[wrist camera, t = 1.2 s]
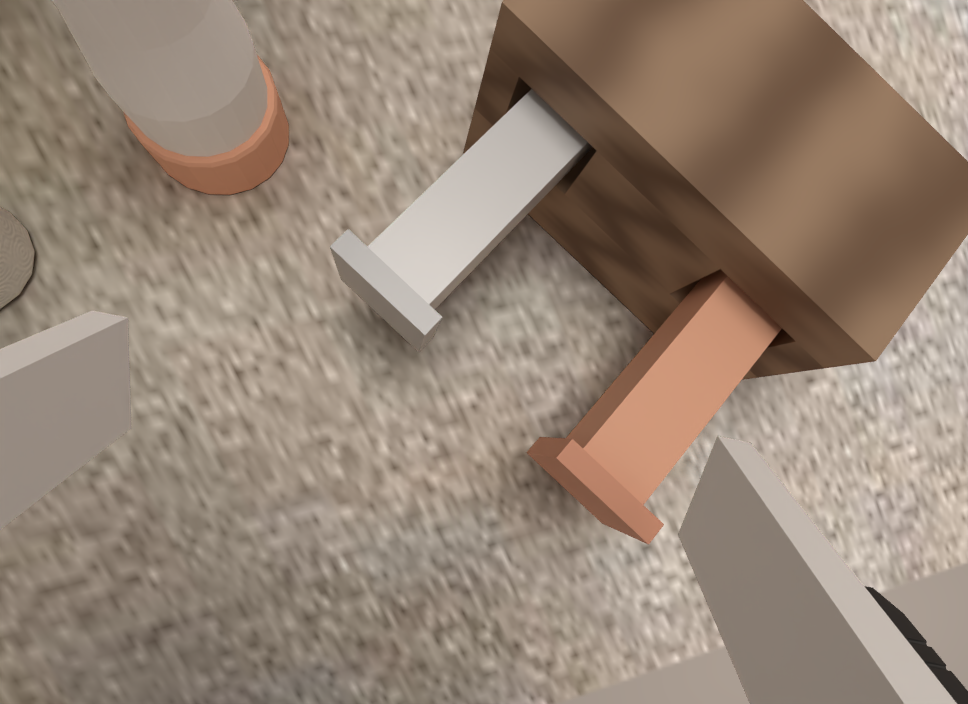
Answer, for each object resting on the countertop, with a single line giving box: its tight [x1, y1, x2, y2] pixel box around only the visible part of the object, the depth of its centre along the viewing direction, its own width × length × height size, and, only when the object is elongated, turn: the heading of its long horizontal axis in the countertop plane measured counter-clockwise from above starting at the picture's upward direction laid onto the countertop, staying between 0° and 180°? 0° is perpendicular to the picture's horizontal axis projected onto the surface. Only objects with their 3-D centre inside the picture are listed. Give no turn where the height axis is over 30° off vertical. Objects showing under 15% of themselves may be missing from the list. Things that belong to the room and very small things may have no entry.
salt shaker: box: [51, 0, 289, 195], centre depth 22 cm, size 7×7×19 cm
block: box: [463, 0, 968, 380], centre depth 29 cm, size 20×10×12 cm, turn 48°
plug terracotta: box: [527, 269, 782, 544], centre depth 26 cm, size 5×14×5 cm, turn 138°
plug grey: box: [330, 89, 592, 352], centre depth 26 cm, size 5×14×5 cm, turn 138°
